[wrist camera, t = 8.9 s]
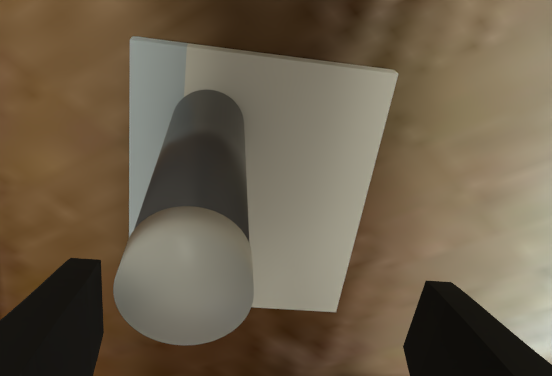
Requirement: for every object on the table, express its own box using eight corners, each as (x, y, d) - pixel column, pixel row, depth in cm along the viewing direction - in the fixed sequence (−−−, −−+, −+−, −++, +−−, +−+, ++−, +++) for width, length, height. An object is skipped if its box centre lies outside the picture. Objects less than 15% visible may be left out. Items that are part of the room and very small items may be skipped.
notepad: (333, 304, 25) (336, 312, 24) (131, 291, 23) (128, 300, 23) (394, 69, 19) (398, 73, 19) (132, 36, 18) (129, 39, 17)
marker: (238, 163, 20) (239, 351, 11) (166, 151, 19) (108, 337, 11) (251, 96, 19) (267, 248, 10) (175, 81, 18) (118, 227, 9)
